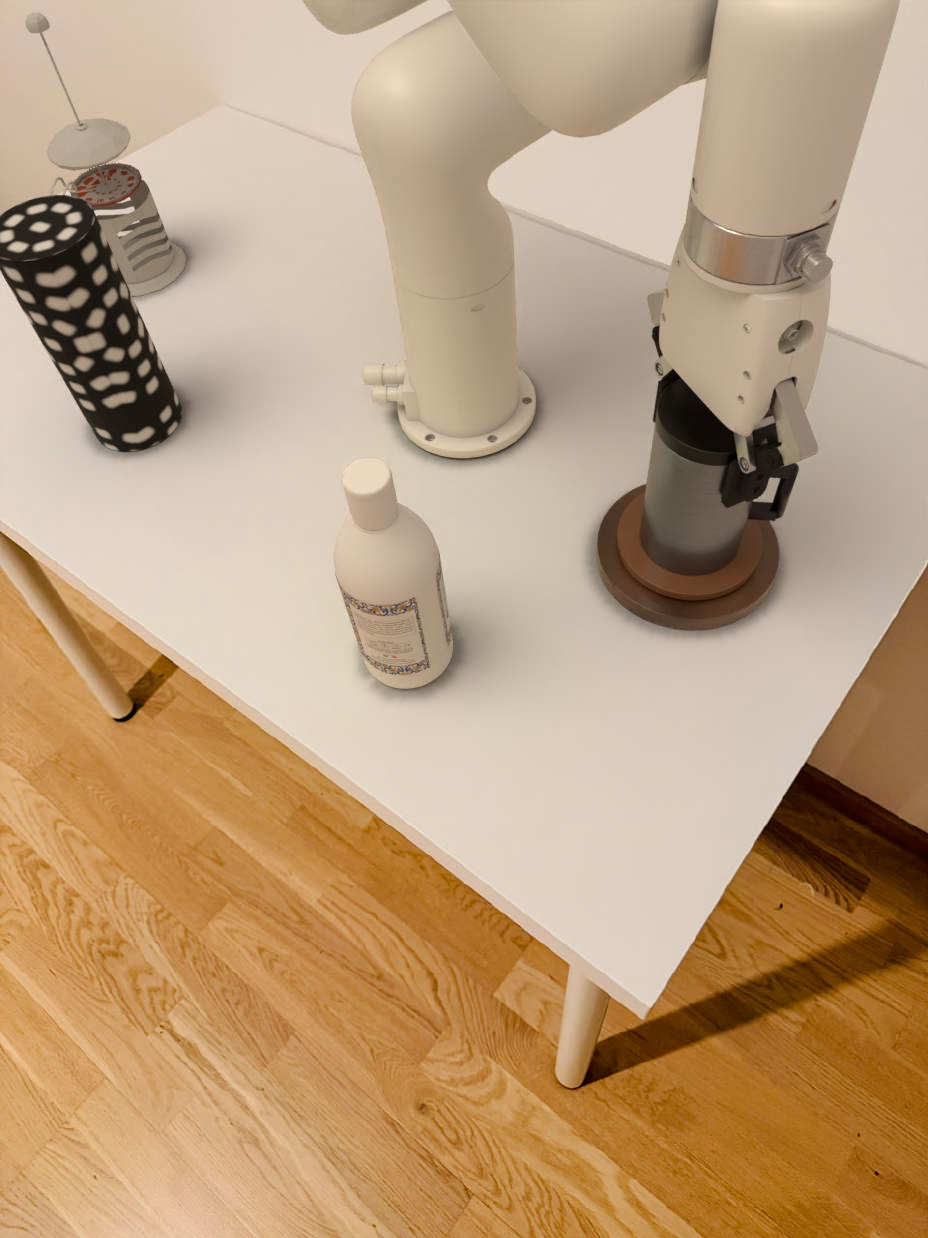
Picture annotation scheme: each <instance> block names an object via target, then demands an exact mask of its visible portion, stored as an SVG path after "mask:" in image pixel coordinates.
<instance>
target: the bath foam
mask: <svg viewBox="0 0 928 1238" xmlns="http://www.w3.org/2000/svg"><path fill="white" fill-rule="evenodd" d="M341 483H342V487H343V488H342V489H343V490H344V495H345V497H346V502H347V505H348V509H349V512H350V514H349V515H347V517H346V519H345V520H344V521H343V523H342V525H341V527H340V529H339V530H338V532H337V535H336V538H335V542H334V548H333V565H334V567H333V568H334V574H335V578H336V582H337V584H338V587H339V590H340V593H341V596H342V599H343V600H342V601H343V602H344V606H345V609H346V612H347V615H348V618H349V621H350V624H351V627H352V630H353V633H354V636H355V639H356V642H357V645H358V648H359V651H360V654H361V657H362V660H363V662H364V665H365V667H366V669H367V670H368V672H369V673H370V675H372V676H373V678H375V679H376V680H378V681H379V682H380V683H382V684H383V685H385V686H388V687H391V688H394V689H401V690H406V689H415V688H416V689H417V688H420V687H422V686H426V685H427V684H430V683H431V682H433V681H435V680H436V679H437V678H438V677H440V676H441V675H442V674H443V673H444V671H445V670H446V669H447V667H448V666H449V664H450V662H451V660H452V656H453V652H454V639H453V633H452V624H451V623H452V622H451V617H450V611H449V605H448V599H447V593H446V586H445V580H444V574H443V567H442V561H441V553H440V550H439V547H438V546H439V545H438V544H437V541H436V538H435V536H434V533H432V530H431V529H430V528H429V526H428V524H427V523H426V522H425V520H424V519H423V518H422V517H421V516H420V515H419V514H417V513H416V511H413V510H412V509H411V508H409V507H408V506H405V505H404V504H402V503H399V502H398V498H397V497H398V496H397V491H396V488H395V482H394V478H393V473H392V471H391V468H390V466H389V465H388V464H387V463H386V461H384V460H382V459H380V458H376V457H362V458H357V459H356V460H354V461H352V462H351V463H349V464H348V465H347V466H346V467H345V469H344V470H343V472H342V476H341Z"/></svg>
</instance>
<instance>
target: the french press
mask: <svg viewBox="0 0 928 1238" xmlns="http://www.w3.org/2000/svg"><path fill="white" fill-rule="evenodd" d="M24 22H25V28H26V29H27V31H28V33H30V34H39V35H40V37H41V39H42V42H43V45H44V46H45V49H46V51H47V53H48V56H49V58H50V60H51V64H52V65H53V68H54V70H55V72H56V74H57V77H58V80H59V81H60V84H61V87H62V88H63V91H64V93H65V95H66V98H67V100H68V102H69V105H70V107H71V109H72V112H73V114H74V116H75V119H76V121H75V122H72V123H69V124H67V125H65V126H64V127H63V128H62V129H61V130H60V131H59V132H56V134H55V135H54V136H53V137H52V139H51V140H50V142H49V144H48V146H47V148H46V150H45V153H46V156H47V158H48V160H49V161H50V163H52V164H54V165H55V166H56V167H58V168H60V169H63V170H67V171H73V172H74V171H82V170H85V171H84V172H81V173H80V174H79V175H78V177H76V178H75V179H74V180H70V181H68V182H67V183H66V182H65V180H64V178H63V177H61V176H58V177H56V178H55V179H54V181H53V183H52V184H51V187H50V190H49V196H51V195H54V189H55V187H56V185H57V183H58V181H60V182H61V183H62V185H63V188H64V189H63V191H62V194H61V195H66V193H67V191H68V192H69V193H70V196H74V197H77V198H80V199H83V200H84V201H86V202H88V203H89V204H90V205H91V206H92V208H93V210H94V212H95V211H116V210H125V209H129V208H133V209H134V210H133V211H131V212H128V213H120V214H98V215H97V214H96V217H97V219H98V221H99V223H100V226H101V228H102V230H103V232H104V235H105V237H106V239H107V241H108V243H109V246H110V248H111V250H112V252H113V255H114V257H115V259H116V261H117V264H118V266H119V268H120V270H121V272H122V275H123V277H124V279H125V281H126V284H127V286H128V288H129V290H130V292H131V295H132V297H137V296H138V297H139V296H140V297H141V296H145V295H148V294H151V293H153V292H154V293H155V292H157V291H160V290H162V289H164V288H165V287H166V286H168V285H170V284H171V283H173V282H175V281H176V280H177V278H178V277H179V276H180V275H181V274H182V273H183V272H184V270H185V267H186V262H187V256H186V255H185V252H184V250H183V248H181V247H180V246H178V245H176V244H175V243H174V242H172V241H170V238H169V236H168V234H167V231H166V228H165V225H164V224H163V220H162V218H161V215H160V213H159V210H158V209H159V208H158V207H157V205H156V202H155V200H154V199H155V198H154V197H153V194H152V192H151V190H150V187H149V185H148V184H147V182H146V181H145V180H144V179H143V176H142V174H141V172H140V170H139V169H138V168H136V167H135V166H133V165H131V164H128V163H127V164H125V163H120V162H118V163H116V162H114V163H113V162H112V163H109V162H111V161H113V160H115V159H117V158H119V157H120V156H121V154H122V153H124V151H126V150H127V148H128V146H129V144H130V140H131V133H130V131H129V129H128V127H127V126H126V125H124V124H122V123H120V122H119V121H116V120H111V119H108V118H102V117H100V118H85V119H80V118H79V116H78V114H77V111H76V109H75V107H74V104H73V102H72V99H71V97H70V95H69V93H68V90H67V88H66V86H65V83H64V80H63V78H62V76H61V73H60V70H59V69H58V67H57V65H56V62H55V60H54V57H53V55H52V52H51V50H50V47H49V45H48V43H47V41H46V38H45V36H44V32H45V31H46V32H47V31H48V30H49V29H50V27H51V25H50V22H49V19H48V18H47V17H46V16H45V15H44V14H42V13H41V12H31V13H29V14H27V16H26V18H25V21H24ZM127 199H130V200H127ZM125 200H127V201H125ZM120 232H121V233H122V232H128V233H126V234H125V235H118V234H119V233H120Z"/></svg>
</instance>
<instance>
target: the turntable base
mask: <svg viewBox="0 0 928 1238" xmlns="http://www.w3.org/2000/svg"><path fill="white" fill-rule="evenodd" d="M645 490H646V483H644V484H641V485H639V486H637V487H635V488H632V489H631V490H629V491H627V492H626V493H624V494H623V495H622V496H621V497H620V498H619V499H617V500H616V501H615V502H614V503H613V504H612V505H611V506H610V507H609V508H608V510H607V512H606V513H605V515H604V517H603V519H602V521H601V523H600V524H599V529H598V533H597V540H596V549H595V550H596V551H595V555H596V557H595V558H596V565H597V569H598V573H599V576H600V578H601V580H602V582H603V584H604V585H605V587H606V589H607V590H608V592H609V594H611V595H612V597H614V599H615V600H616V601H617V602H618V603H620V605H621V606H623V607H624V608H626V610H628V611H629V612H630V613H632V614H634V615H635V616H638V617H639V618H641V619H643V620H645V621H648V622H649V623H652V624H655V625H658V626H661V627H665V628H670V629H674V630H683V631H704V630H710V629H711V630H712V629H716V628H720V627H724V626H727V625H730V624H732V623H735V622H737V621H739V620H741V619H742V618H744V617H746V616H748V615H749V614H750V613H752V612H753V611H754V610H756V608H757V607H759V606H760V605H761V604H762V602H763V601H764V600H765V598H766V597H767V596H768V595H769V593H770V591H771V588H772V586H773V584H774V581H775V578H776V576H777V573H778V569H779V565H780V560H781V559H780V545H779V540H778V539H779V538H778V536H777V533H776V531H775V529H774V527H773V525H772V523H771V521H765V520H756V521H757V523H758V525H759V527H760V530H761V534H762V541H763V543H762V552H761V557H760V560H759V562H758V565H757V567H756V569H755V571H754V572H753V574H752V575H751V577H750V578H749V579H748V580H747V581H746V582H745V583H744V584H743V585H741V586H740V587H739V588H737V589H735V590H734V591H732V592H730V593H728V594H726V595H723V596H720V597H717V598H712V599H707V600H682V599H676V598H671V597H667V596H665V595H662V594H659V593H657V592H655V591H653V590H651V589H649V588H647V587H646V586H644V585H642V584H641V583H640V582H639V581H637V580H636V579H635V578H634V577H633V576H632V575H631V574H630V573H629V571H628V570H627V569H626V567H625V566H624V564H623V562H622V560H621V558H620V555H619V552H618V548H617V530H618V524H619V521H620V518H621V516H622V514H623V512H624V511H625V509H626V508H627V507H628V505H629V504H630V503H631V502H632V501H633V500H634V499H636V498H637V497H638V496H640V495H641V494H643V493H645Z"/></svg>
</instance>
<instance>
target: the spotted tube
mask: <svg viewBox="0 0 928 1238" xmlns="http://www.w3.org/2000/svg"><path fill="white" fill-rule="evenodd" d="M96 216H97V214H96V212H95V211H94V210H93V208H92V206H91V205H90V204H89V203H88V202H86V201H84V200H83V199H80V198H77V197H74V196H71V195H67V194H65V195H62V194H53V195H51V196H50V195H43V196H40V197H39V196H38V197H34V198H32V199H28V200H25V201H23V202H20V203H19V204H16V205H14V206H12V207H10V208H9V209H7V210H5V211H4V212H3V213H1V214H0V274H1V275H2V277H3V278H4V280H5V282H6V284H7V285H8V287H9V289H10V291H11V292H12V294H13V296H14V297H15V299H16V301H17V303H18V304H19V306H20V308H21V310H22V311H23V313H24V315H25V317H26V318H27V320H28V322H29V323H30V326H31V327H32V328H33V330H34V333H35V334H36V335H37V337H38V339H39V341H40V343H41V345H42V346H43V348H44V349H45V351H46V353H47V355H48V357H49V359H50V360H51V361H52V363H53V365H54V367H55V368H56V370H57V372H58V373H59V375H60V378H61V379H62V380H63V382H64V385H65V386H66V387H67V389H68V391H69V392H70V395H71V396H72V398H73V399H74V401H75V403H76V405H77V407H78V408H79V410H80V412H81V414H82V415H83V417H84V419H85V420H86V422H87V424H88V425H89V427H90V429H91V431H92V433H93V434H94V436H95V437H96V439H97V440H98V442H99V443H100V444H101V445H103V446H104V447H106V448H107V449H110V450H112V451H117V452H125V453H127V452H128V453H129V452H138V451H142V450H146V449H149V448H151V447H154V446H155V445H158V444H160V443H161V442H163V441H164V440H166V439H167V438H169V437H170V435H171V434H173V432H174V431H175V430H177V428H178V426H179V424H180V422H181V419H182V415H183V407H182V404H181V402H180V400H179V397H178V395H177V393H176V391H175V389H174V386H173V384H172V381H171V379H170V377H169V375H168V372H167V370H166V368H165V366H164V363H163V361H162V359H161V357H160V355H159V353H158V351H157V348H156V346H155V344H154V341H153V340H152V337H151V334H150V332H149V330H148V328H147V326H146V323H145V322H144V320H143V317H142V315H141V313H140V311H139V308H138V305H137V303H136V301H135V299H134V296H132V295H131V292H130V290H129V288H128V286H127V284H126V281H125V279H124V277H123V275H122V272H121V270H120V268H119V266H118V264H117V261H116V259H115V257H114V255H113V252H112V250H111V248H110V246H109V243H108V241H107V239H106V237H105V235H104V232H103V230H102V228H101V226H100V223H99V221H98V219H97V217H96Z"/></svg>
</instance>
